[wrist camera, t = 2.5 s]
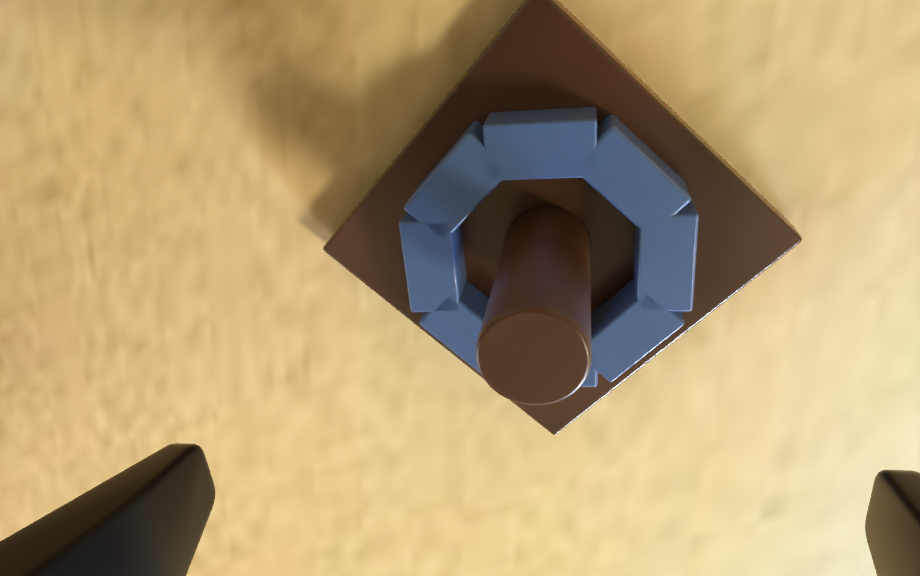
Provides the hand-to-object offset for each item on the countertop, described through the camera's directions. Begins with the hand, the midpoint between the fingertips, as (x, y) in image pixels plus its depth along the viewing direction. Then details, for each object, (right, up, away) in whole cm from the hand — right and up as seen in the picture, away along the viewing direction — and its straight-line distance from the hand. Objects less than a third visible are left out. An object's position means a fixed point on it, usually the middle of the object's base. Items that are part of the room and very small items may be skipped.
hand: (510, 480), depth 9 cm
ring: (+1, +4, +7) cm, 8 cm away
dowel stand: (+1, +4, +8) cm, 9 cm away
